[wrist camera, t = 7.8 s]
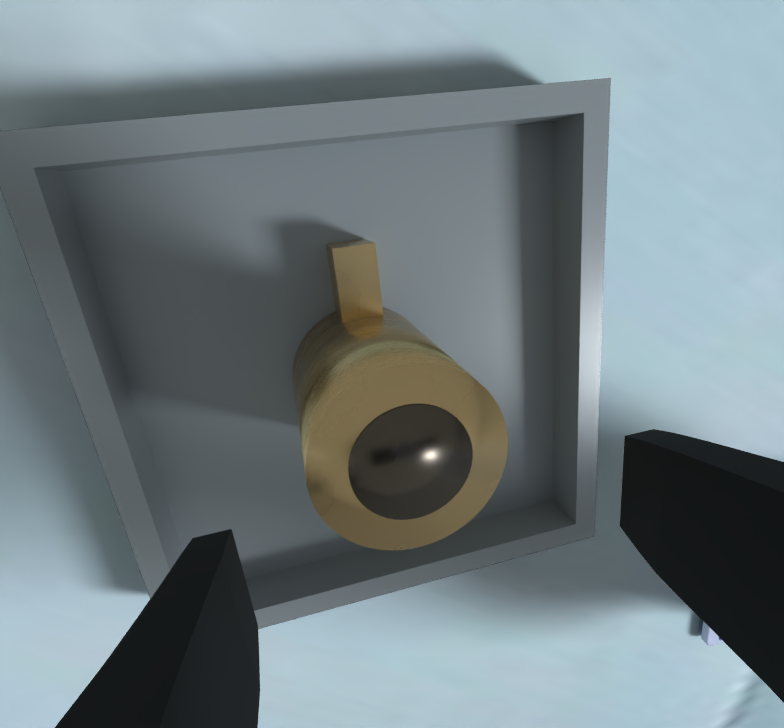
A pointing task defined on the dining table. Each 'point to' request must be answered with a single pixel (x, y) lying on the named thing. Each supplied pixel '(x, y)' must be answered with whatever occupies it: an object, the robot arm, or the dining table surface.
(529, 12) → the dining table surface
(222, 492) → the tray
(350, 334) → the brass short cylinder
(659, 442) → the robot arm
